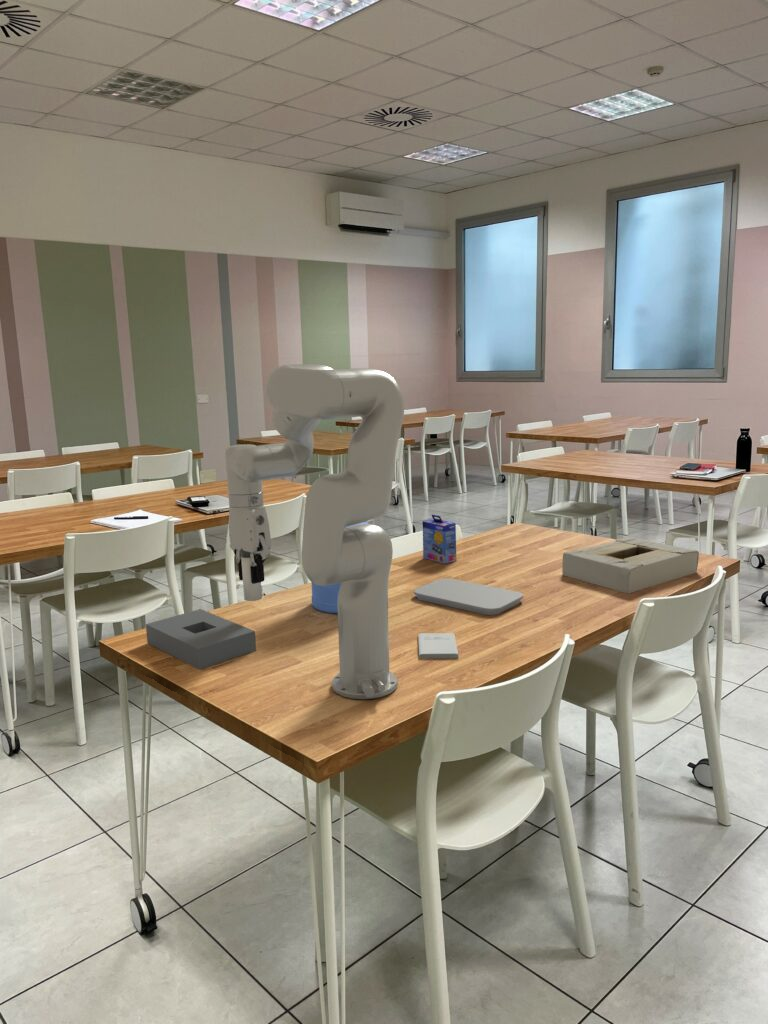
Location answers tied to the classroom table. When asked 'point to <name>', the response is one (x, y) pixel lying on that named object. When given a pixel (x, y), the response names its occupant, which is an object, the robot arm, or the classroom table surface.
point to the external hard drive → (437, 645)
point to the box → (630, 564)
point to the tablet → (468, 596)
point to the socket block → (200, 638)
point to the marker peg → (249, 578)
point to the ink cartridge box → (439, 540)
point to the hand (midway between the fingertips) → (251, 579)
